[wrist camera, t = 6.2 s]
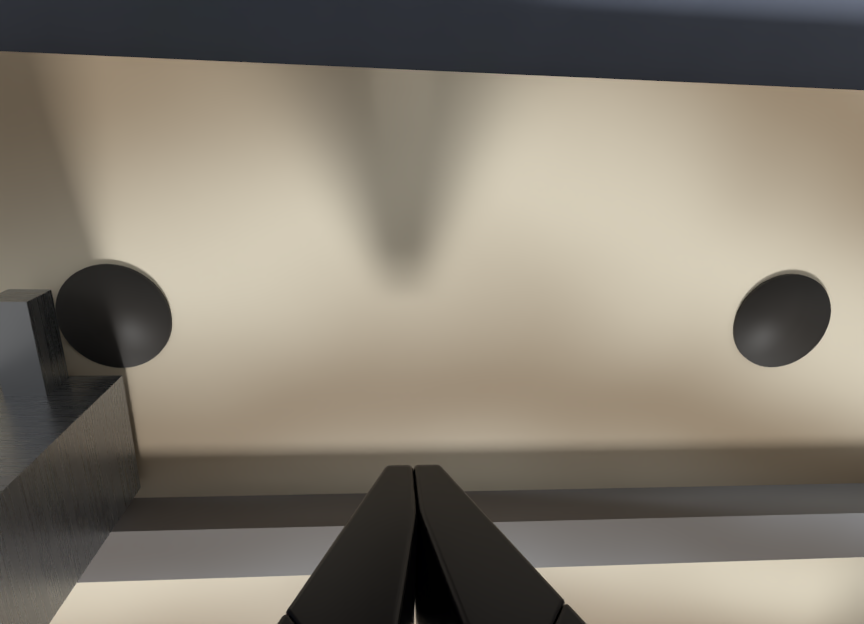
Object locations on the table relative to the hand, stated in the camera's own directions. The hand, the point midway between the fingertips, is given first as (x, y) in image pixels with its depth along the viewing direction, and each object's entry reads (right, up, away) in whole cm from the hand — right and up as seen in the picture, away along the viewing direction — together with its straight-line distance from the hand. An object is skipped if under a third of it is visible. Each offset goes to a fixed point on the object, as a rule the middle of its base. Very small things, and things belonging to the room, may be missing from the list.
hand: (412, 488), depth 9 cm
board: (+4, +1, +4) cm, 6 cm away
